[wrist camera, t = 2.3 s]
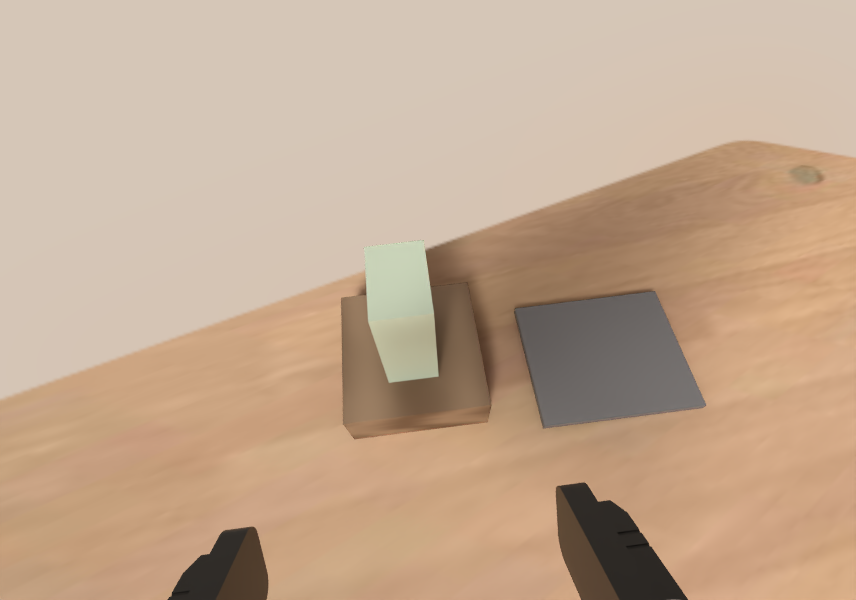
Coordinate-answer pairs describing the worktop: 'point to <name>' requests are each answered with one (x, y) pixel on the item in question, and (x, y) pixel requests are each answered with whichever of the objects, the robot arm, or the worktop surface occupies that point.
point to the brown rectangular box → (421, 398)
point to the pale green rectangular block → (401, 310)
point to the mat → (605, 360)
